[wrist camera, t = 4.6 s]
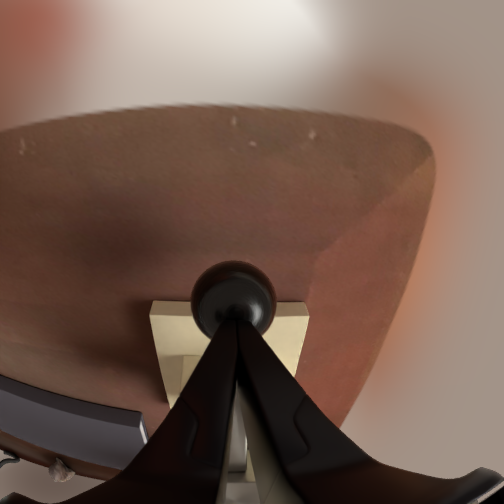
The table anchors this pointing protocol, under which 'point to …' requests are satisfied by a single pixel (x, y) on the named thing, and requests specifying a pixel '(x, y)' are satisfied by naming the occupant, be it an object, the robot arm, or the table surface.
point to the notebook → (71, 425)
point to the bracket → (195, 342)
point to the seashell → (60, 471)
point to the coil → (9, 458)
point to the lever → (208, 320)
